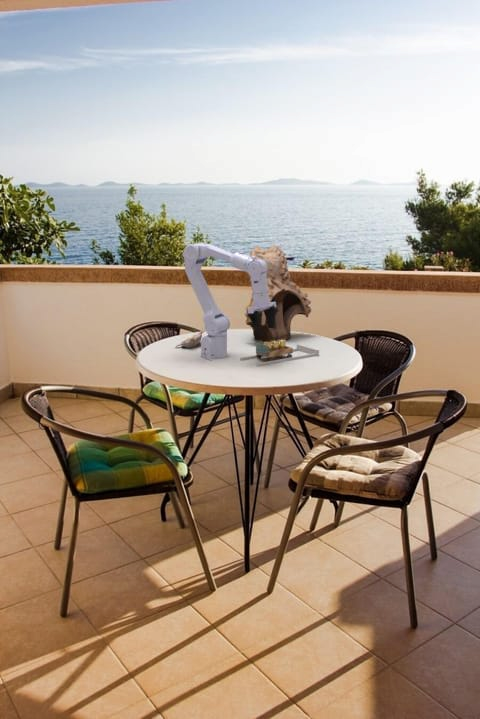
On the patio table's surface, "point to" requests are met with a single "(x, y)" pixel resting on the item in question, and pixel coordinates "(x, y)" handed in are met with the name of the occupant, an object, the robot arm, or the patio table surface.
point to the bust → (278, 296)
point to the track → (305, 349)
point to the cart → (272, 352)
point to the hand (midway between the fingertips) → (264, 329)
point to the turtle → (192, 340)
